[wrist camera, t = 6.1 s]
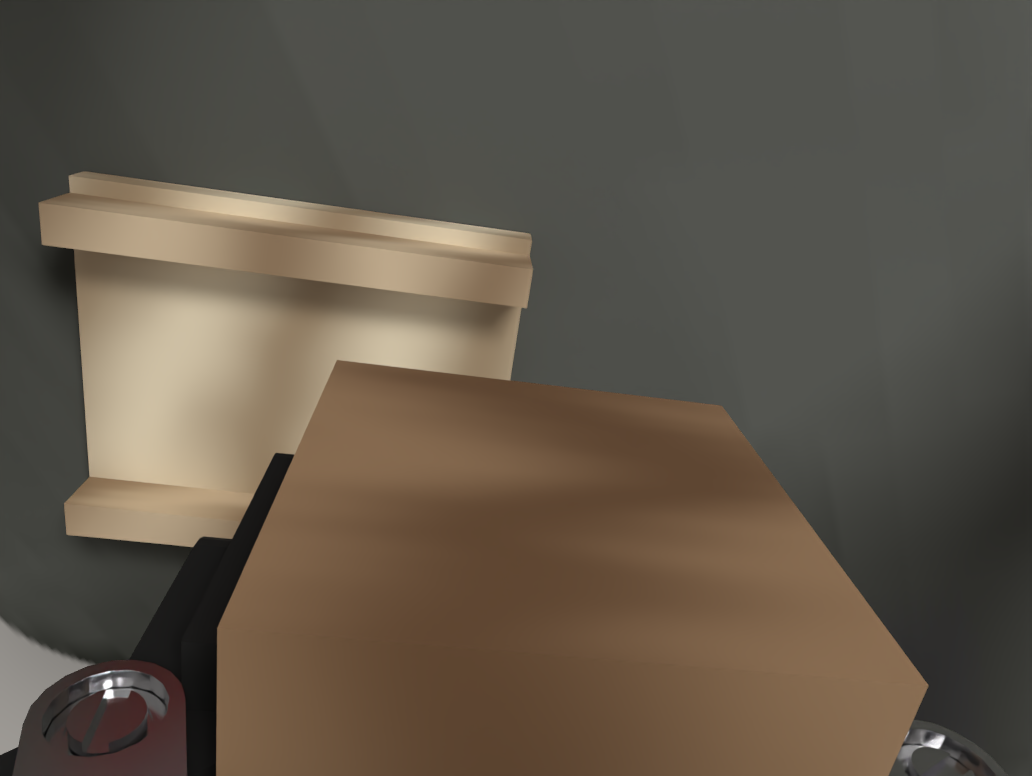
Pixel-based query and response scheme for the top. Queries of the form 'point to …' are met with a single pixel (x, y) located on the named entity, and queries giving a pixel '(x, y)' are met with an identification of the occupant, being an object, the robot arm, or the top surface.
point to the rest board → (251, 333)
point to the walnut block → (544, 598)
